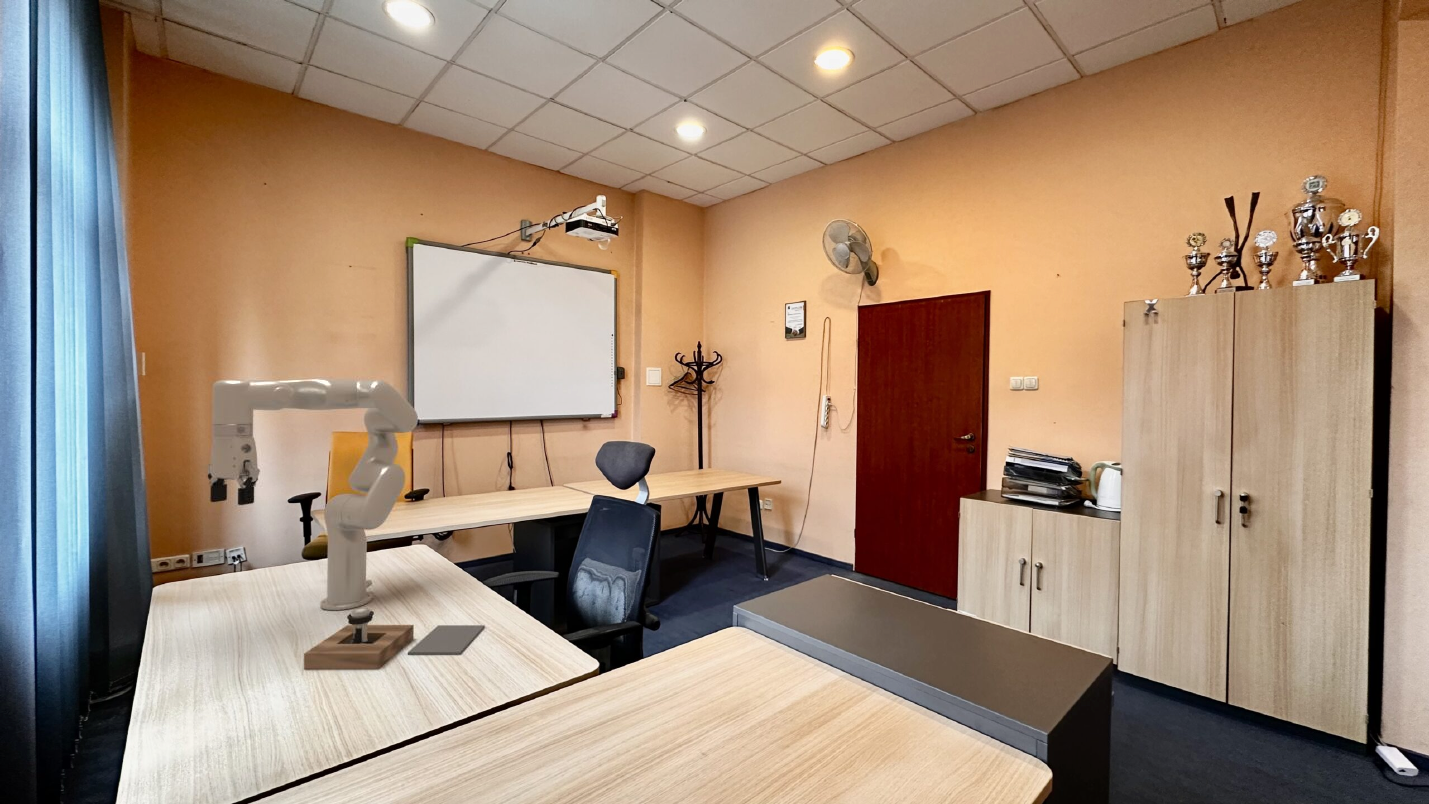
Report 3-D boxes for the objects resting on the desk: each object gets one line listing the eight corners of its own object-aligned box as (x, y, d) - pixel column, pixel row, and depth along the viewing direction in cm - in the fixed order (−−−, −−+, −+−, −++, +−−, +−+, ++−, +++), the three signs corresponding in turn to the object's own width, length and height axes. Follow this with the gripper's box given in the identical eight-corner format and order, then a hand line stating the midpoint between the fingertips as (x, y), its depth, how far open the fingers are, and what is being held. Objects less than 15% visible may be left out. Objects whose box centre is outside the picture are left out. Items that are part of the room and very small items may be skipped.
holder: (347, 638, 142) (347, 624, 142) (413, 638, 142) (413, 624, 142) (303, 669, 126) (304, 653, 126) (378, 669, 126) (378, 653, 126)
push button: (382, 651, 135) (382, 609, 135) (360, 660, 130) (360, 616, 130) (363, 646, 138) (364, 604, 138) (341, 655, 133) (342, 612, 133)
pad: (438, 627, 149) (438, 625, 149) (484, 627, 150) (484, 625, 150) (407, 654, 133) (407, 652, 133) (459, 654, 134) (460, 652, 134)
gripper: (274, 432, 138) (273, 502, 138) (226, 429, 144) (225, 497, 144) (240, 433, 131) (239, 508, 131) (191, 431, 136) (190, 502, 137)
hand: (232, 502), depth 137 cm, fingers open, 9 cm apart
